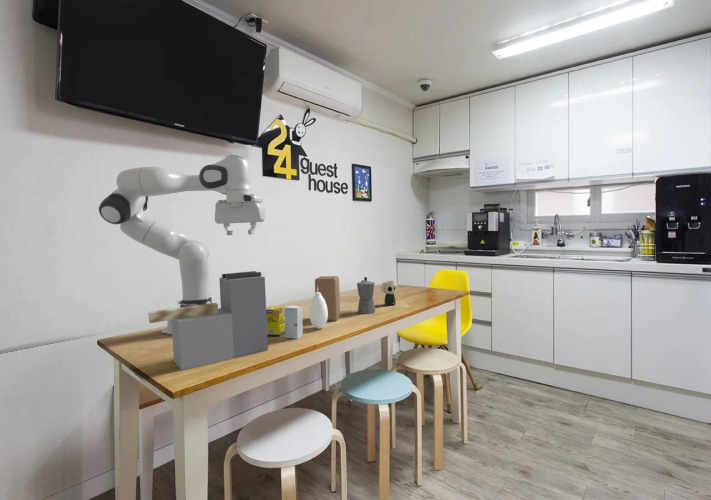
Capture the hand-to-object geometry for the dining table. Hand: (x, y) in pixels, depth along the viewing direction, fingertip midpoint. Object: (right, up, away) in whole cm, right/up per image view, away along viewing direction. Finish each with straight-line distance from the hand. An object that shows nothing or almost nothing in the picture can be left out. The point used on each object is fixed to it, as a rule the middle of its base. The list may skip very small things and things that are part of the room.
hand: (240, 234), depth 137 cm
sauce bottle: (+29, -40, +17) cm, 52 cm away
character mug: (+64, -37, +63) cm, 97 cm away
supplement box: (+12, -41, +9) cm, 43 cm away
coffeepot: (+50, -38, +47) cm, 78 cm away
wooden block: (+31, -39, +34) cm, 60 cm away
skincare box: (+20, -41, +5) cm, 45 cm away
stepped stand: (-1, -42, -15) cm, 44 cm away
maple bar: (-11, -27, -22) cm, 37 cm away
